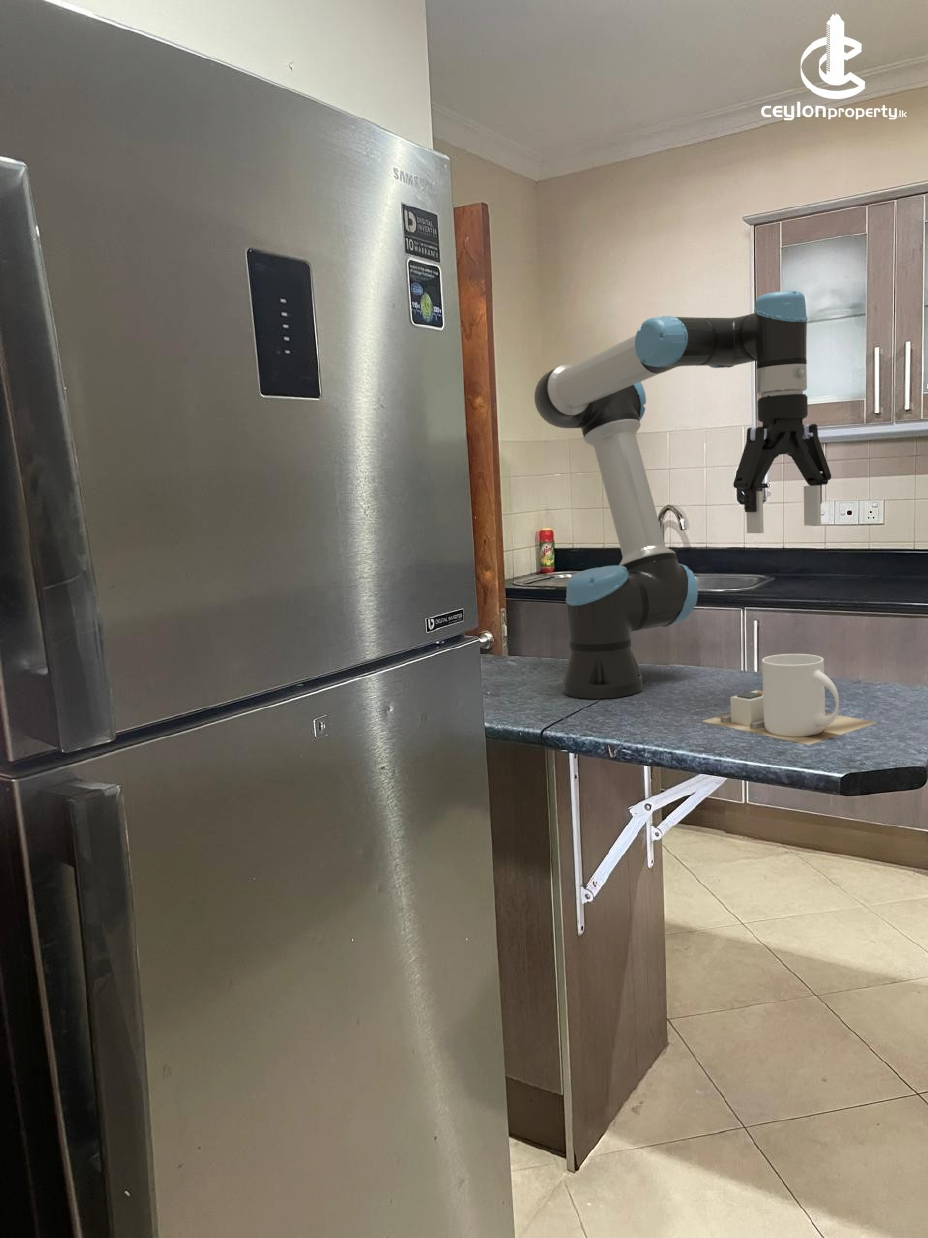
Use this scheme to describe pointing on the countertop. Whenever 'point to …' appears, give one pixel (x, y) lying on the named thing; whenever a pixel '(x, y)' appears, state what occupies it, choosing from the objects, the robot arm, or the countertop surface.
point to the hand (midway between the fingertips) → (784, 529)
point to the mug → (796, 695)
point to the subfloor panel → (831, 730)
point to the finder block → (747, 708)
